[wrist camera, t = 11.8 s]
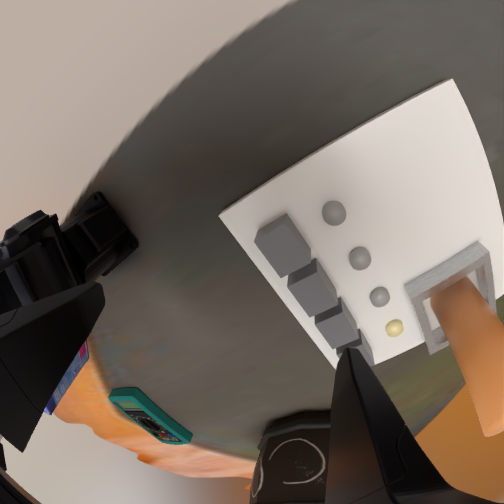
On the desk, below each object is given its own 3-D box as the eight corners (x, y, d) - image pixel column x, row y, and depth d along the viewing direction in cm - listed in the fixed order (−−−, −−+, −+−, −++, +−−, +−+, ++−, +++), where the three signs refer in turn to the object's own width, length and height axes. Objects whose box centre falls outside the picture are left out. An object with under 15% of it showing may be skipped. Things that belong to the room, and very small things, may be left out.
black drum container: (238, 437, 38) (216, 521, 24) (305, 392, 29) (292, 518, 16) (325, 462, 39) (319, 534, 25) (401, 423, 31) (410, 515, 17)
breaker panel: (341, 369, 27) (342, 392, 24) (222, 210, 21) (210, 226, 18) (505, 282, 19) (520, 300, 16) (445, 80, 13) (466, 76, 11)
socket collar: (424, 340, 22) (430, 355, 20) (403, 284, 20) (410, 299, 18) (487, 303, 19) (496, 316, 17) (477, 240, 17) (489, 251, 15)
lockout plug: (428, 320, 21) (475, 444, 10) (431, 280, 19) (498, 411, 8) (467, 307, 20) (525, 418, 8) (472, 267, 18) (551, 380, 7)
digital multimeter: (167, 433, 43) (163, 445, 41) (112, 386, 38) (104, 399, 36) (196, 434, 41) (192, 447, 38) (138, 383, 36) (130, 398, 33)
